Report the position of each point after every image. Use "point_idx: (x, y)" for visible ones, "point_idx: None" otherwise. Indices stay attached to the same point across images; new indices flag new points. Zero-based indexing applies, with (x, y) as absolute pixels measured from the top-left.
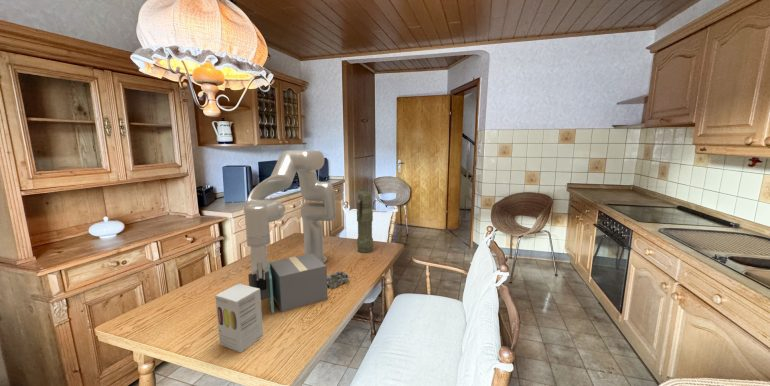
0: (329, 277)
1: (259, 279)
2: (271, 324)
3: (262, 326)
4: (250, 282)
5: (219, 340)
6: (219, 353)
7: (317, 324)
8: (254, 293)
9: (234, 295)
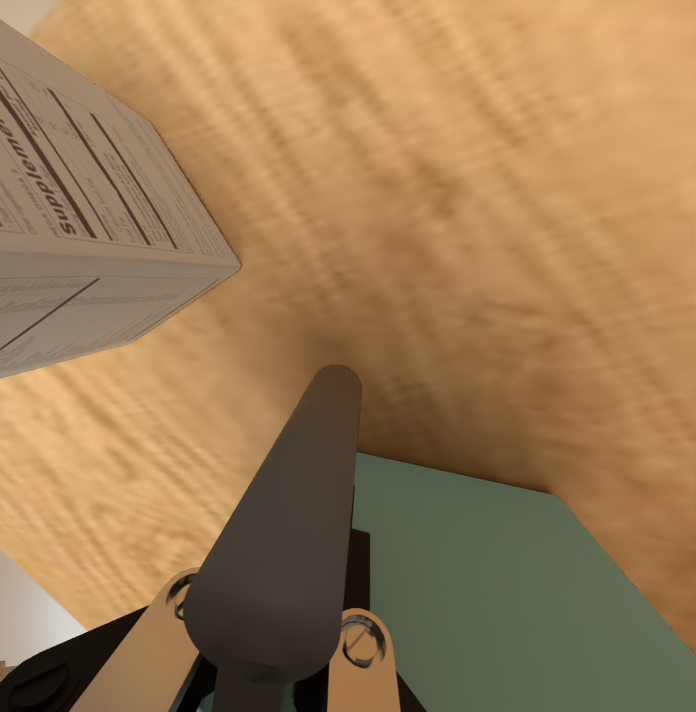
0: None
1: (133, 624)
2: (211, 406)
3: (80, 356)
4: (258, 470)
5: (127, 107)
6: None
7: (109, 567)
8: None
9: None
